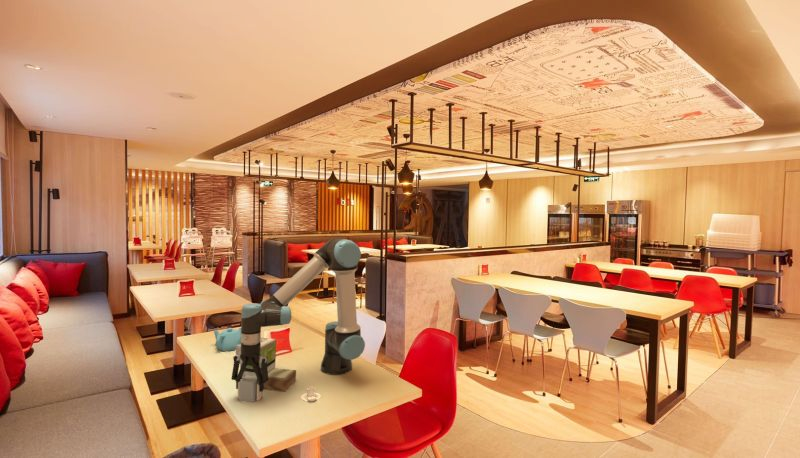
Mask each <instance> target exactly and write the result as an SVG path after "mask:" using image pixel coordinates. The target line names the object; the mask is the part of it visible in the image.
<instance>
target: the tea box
mask: <svg viewBox="0 0 800 458" xmlns="http://www.w3.org/2000/svg"><path fill="white" fill-rule="evenodd" d="M260 343H261V347H260V355H261V357H264V358H265V357H267V358H268V359H267V369H268V372H269V371H270V370H271V369H273V368H276V360H277V359H276V355H277V339H276V338H266V337H261V341H260ZM242 362H243V361H242V360H240V363H239V369H240V368H241V365H242ZM259 364H260V365H259V366H260V369H261V372H262V368H261V361H260V360H259ZM247 375H248V376H256V374H255V371H254V369H253V367H252V366H249V365H248V366H247V367H246V369H245V371H244V374H243V376H242V379H243V378H245V377H246V376H247Z"/></svg>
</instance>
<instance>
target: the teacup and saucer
mask: <svg viewBox="0 0 800 458" xmlns="http://www.w3.org/2000/svg"><path fill="white" fill-rule="evenodd" d="M315 389H316V388H315V387H314V386H308V387H307V388H306V392H305V393H303V394H302V395H301V396H300V398H301V400H302V401H304V402H314V401H318V400H319V399H320V398H321V396H322V395H321V394H320V393H318V392H315ZM315 395H317V397H316V396H315ZM305 397H307V399H306V398H305Z"/></svg>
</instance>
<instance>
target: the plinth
mask: <svg viewBox="0 0 800 458" xmlns="http://www.w3.org/2000/svg"><path fill="white" fill-rule="evenodd" d="M268 378H269V380H268V381H267V382H266V383H264V390H263V391H265V390H266V391H276V392H287V391H288V390H289V389H290V388H291V387H292V385H294V384H295V383H296V381H297V369H288V368H287V369H286V368H278V367H277V368H276V367H275V368H273V369H271V370H270V371H269V372H268Z"/></svg>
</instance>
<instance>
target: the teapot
mask: <svg viewBox="0 0 800 458" xmlns="http://www.w3.org/2000/svg"><path fill="white" fill-rule="evenodd" d="M213 332H214V333H213V334H214V337H215V348H217V350H219V351H222V352H232V351H236V345H239V344H242V343H241V327H239V328H238V329H233V327H227V328H226V329H224V330H222V331H221V332H219V331H218V330H217V329H216V330H214V331H213Z"/></svg>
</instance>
